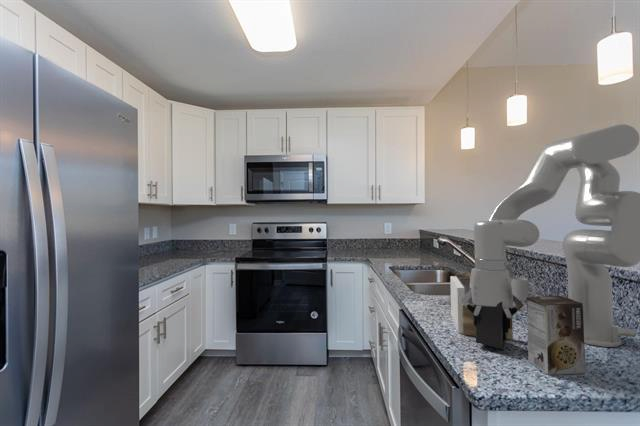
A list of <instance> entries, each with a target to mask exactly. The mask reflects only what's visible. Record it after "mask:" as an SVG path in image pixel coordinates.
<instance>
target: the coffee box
mask: <svg viewBox="0 0 640 426" xmlns="http://www.w3.org/2000/svg"><path fill="white" fill-rule="evenodd" d="M526 320H527V323H526V325H527V326H526V327H527V350H528V353H527V356H528V358H527V359H528V363H529V364H531V365H532V366H534V367H535V368H537V369H538V370H540V371H541V372H543V373H544V374H545V375H548V376H555V375H569V374H570V375H574V374H576V375H577V374H586V373H587V372H586V353H585V349H586V348H585V343H584V321H583V303H580V302H577V301H574V300H572V299H569V298H568V297H566V296H562V295H549V296H548V295H547V296H534V297H527V301H526Z"/></svg>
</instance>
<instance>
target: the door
mask: <svg viewBox="0 0 640 426" xmlns="http://www.w3.org/2000/svg"><path fill="white" fill-rule="evenodd" d="M470 305H472V306H474V304H470ZM509 308H510V307H509ZM509 308H508V309H509ZM462 317H463V334H462V335H465V336H475V337H476V331H477V328H476V326H474V322H473V313H472V312H471V311H470V310H469V309H468V308H467V307H466V306H465V305H464V304H462ZM513 330H514V329H513V316H512V317H511V318H510V329H508V333H507V339H506V340H513V338H514V337H513V335H514V334H513Z"/></svg>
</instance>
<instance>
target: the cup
mask: <svg viewBox="0 0 640 426" xmlns="http://www.w3.org/2000/svg"><path fill="white" fill-rule="evenodd" d="M510 277H511V278H510V279H512V281H511V285H512V292H513V295H514V296H515V297H516V298H517V299H518V300H519V301H521V302H527V297H536V294H537V288H536V287H537V286H535V284H534V283H533V282H531V281H529V279H528V278H527V277H523V276H510ZM529 287H530V288H531V292H530V293H529Z"/></svg>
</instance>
